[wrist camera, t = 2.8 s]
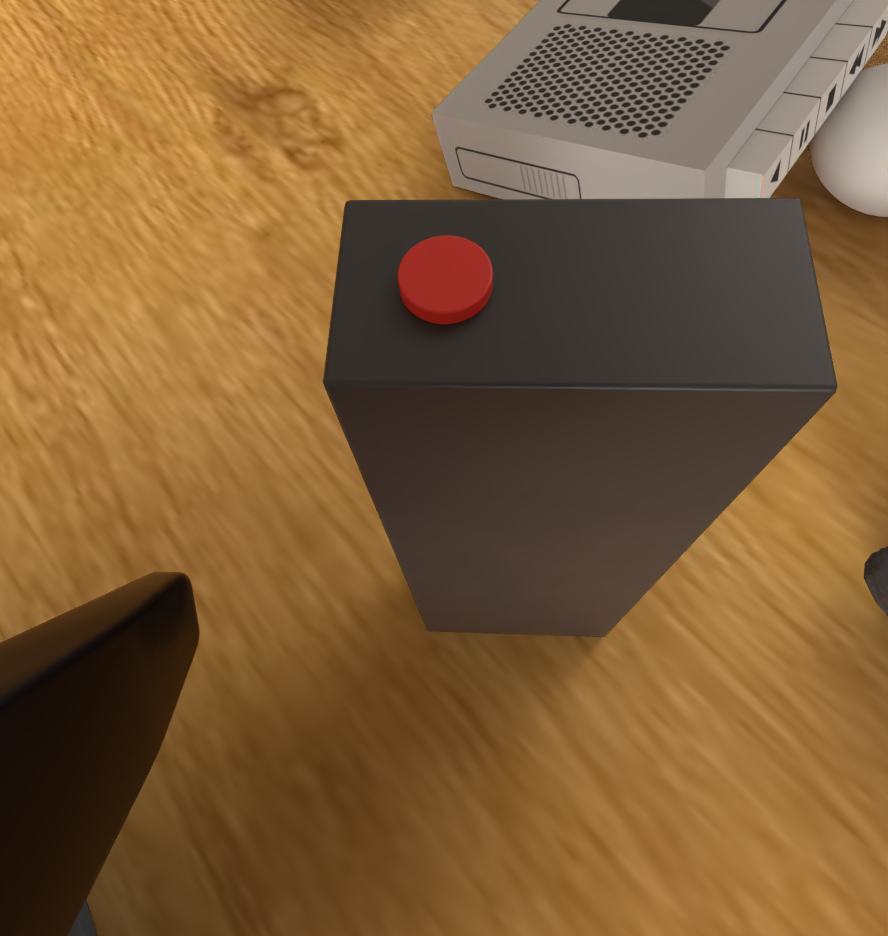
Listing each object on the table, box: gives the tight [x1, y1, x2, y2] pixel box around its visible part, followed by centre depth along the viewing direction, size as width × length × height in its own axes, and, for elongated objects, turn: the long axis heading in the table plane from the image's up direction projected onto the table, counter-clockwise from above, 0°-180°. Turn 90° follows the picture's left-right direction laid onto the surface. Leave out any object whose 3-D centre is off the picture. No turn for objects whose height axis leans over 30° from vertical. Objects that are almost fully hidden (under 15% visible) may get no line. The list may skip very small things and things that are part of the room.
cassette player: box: [431, 0, 888, 200], centre depth 23 cm, size 16×3×10 cm
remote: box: [323, 198, 837, 637], centre depth 13 cm, size 2×5×13 cm, turn 87°
